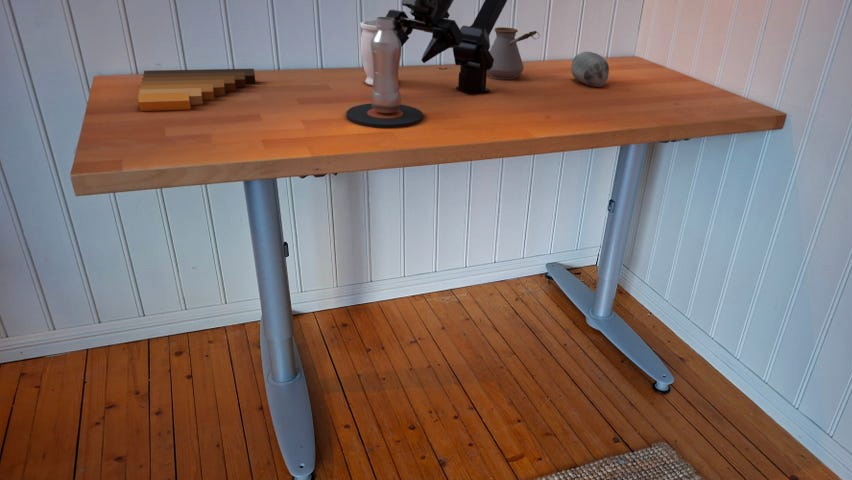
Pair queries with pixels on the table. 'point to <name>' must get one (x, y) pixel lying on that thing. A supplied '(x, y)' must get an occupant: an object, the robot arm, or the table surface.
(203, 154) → the table surface
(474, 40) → the robot arm
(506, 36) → the coffee pot
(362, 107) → the ring
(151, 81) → the pan flute
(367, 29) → the jar
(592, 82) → the grey river stone
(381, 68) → the plastic bottle
